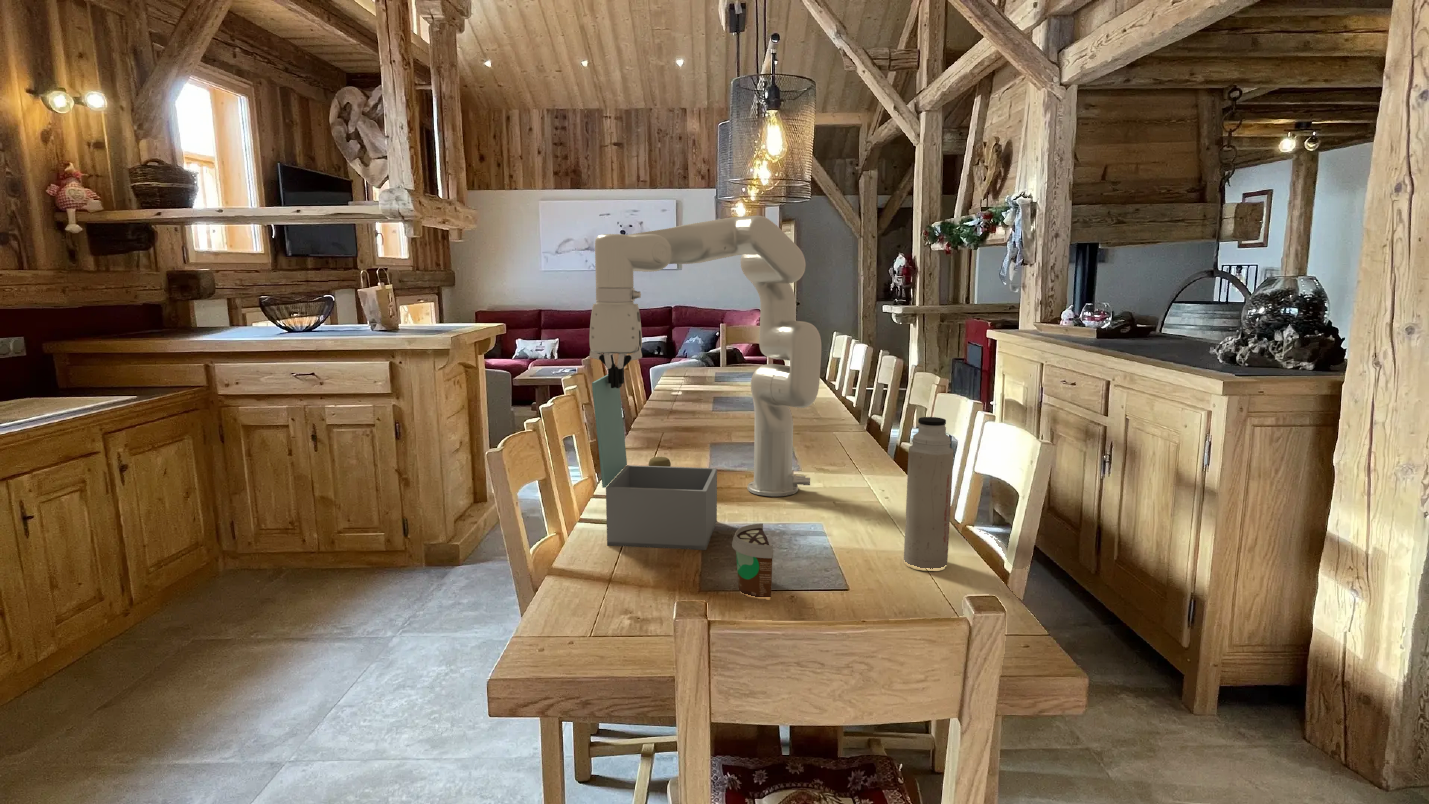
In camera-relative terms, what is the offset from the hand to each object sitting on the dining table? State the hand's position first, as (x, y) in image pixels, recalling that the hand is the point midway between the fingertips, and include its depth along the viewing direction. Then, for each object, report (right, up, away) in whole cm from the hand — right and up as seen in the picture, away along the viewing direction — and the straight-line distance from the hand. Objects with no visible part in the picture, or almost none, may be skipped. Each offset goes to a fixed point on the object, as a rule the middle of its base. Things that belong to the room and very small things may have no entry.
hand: (616, 387), depth 161 cm
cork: (+7, -27, +25) cm, 38 cm away
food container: (+26, -36, -24) cm, 51 cm away
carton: (+10, -31, +4) cm, 32 cm away
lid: (-1, -8, +2) cm, 8 cm away
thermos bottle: (+60, -34, -13) cm, 70 cm away
